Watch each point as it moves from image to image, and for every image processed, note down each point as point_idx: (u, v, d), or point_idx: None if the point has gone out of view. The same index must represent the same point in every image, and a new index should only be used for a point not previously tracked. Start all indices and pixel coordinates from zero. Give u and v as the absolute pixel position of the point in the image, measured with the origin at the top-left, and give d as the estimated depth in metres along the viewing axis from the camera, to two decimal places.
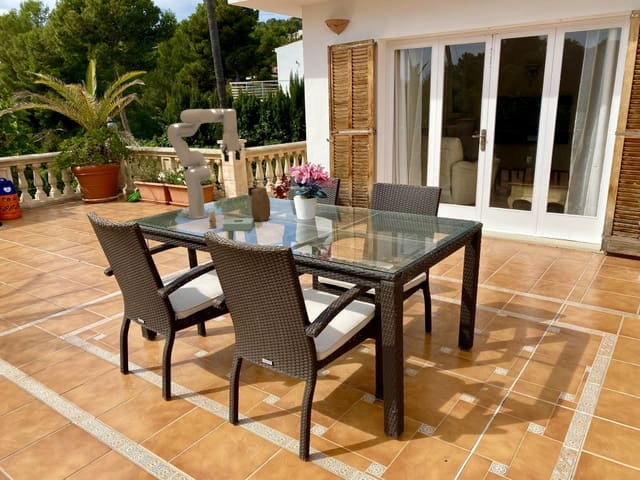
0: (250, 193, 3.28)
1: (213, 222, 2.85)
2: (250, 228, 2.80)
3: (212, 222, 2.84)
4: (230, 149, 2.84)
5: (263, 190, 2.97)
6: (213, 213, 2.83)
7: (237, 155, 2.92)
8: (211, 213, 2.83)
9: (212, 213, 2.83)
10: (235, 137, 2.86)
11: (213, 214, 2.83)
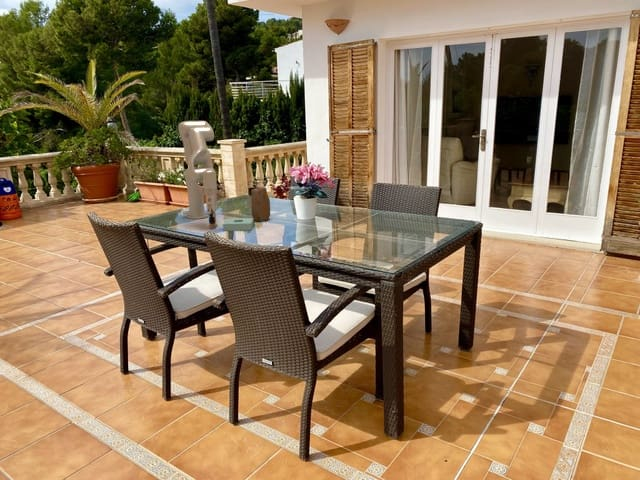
0: (250, 193, 3.28)
1: None
2: (250, 228, 2.80)
3: None
4: None
5: (263, 190, 2.97)
6: None
7: None
8: None
9: (212, 213, 2.83)
10: None
11: None
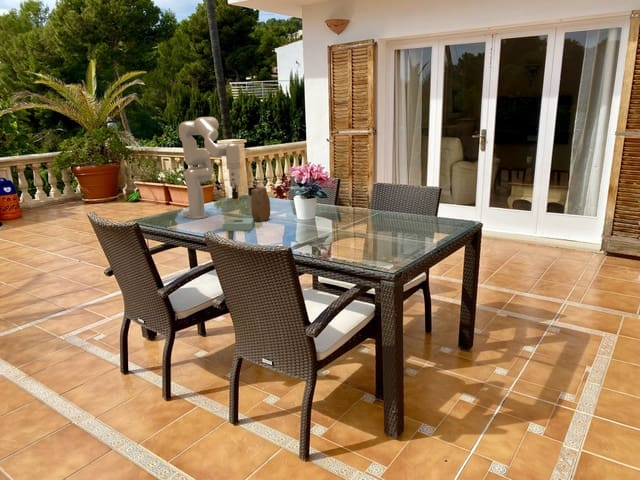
0: (250, 193, 3.28)
1: None
2: (250, 228, 2.80)
3: None
4: None
5: (263, 190, 2.97)
6: None
7: None
8: None
9: None
10: None
11: None
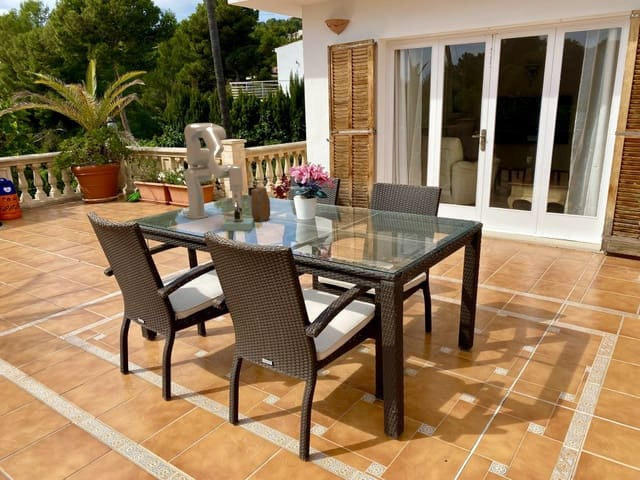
0: (250, 193, 3.28)
1: None
2: (250, 228, 2.80)
3: None
4: None
5: (263, 190, 2.97)
6: None
7: None
8: None
9: None
10: None
11: None
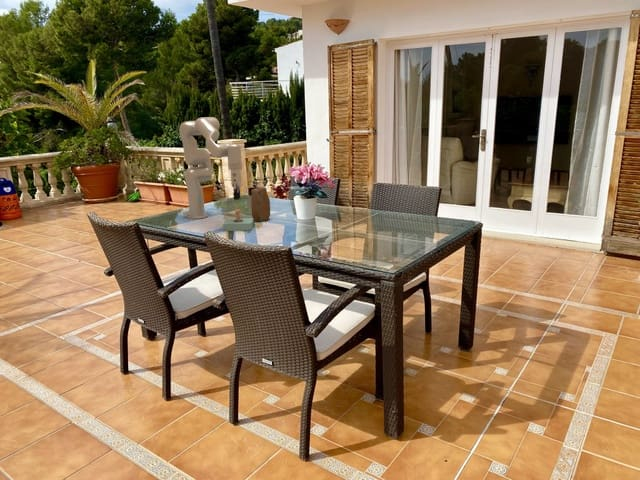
0: (250, 193, 3.28)
1: None
2: (250, 228, 2.80)
3: None
4: None
5: (263, 190, 2.97)
6: (239, 213, 2.83)
7: None
8: (237, 213, 2.83)
9: (238, 213, 2.83)
10: None
11: (239, 214, 2.83)
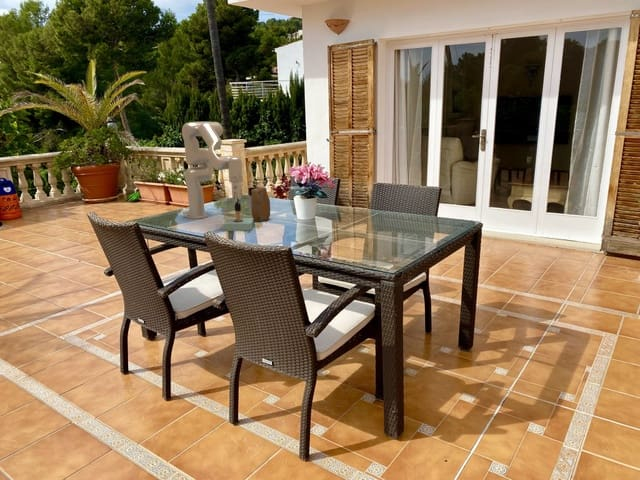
0: (250, 193, 3.28)
1: None
2: (250, 228, 2.80)
3: None
4: None
5: (263, 190, 2.97)
6: (239, 213, 2.83)
7: None
8: (237, 213, 2.83)
9: (238, 213, 2.83)
10: None
11: (239, 214, 2.83)
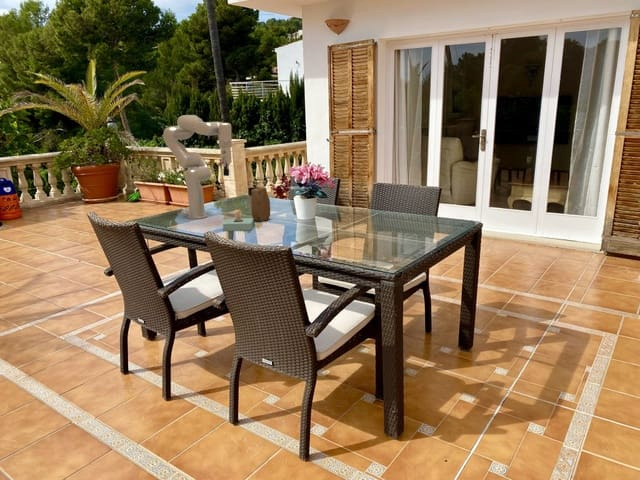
0: (250, 193, 3.28)
1: None
2: (250, 228, 2.80)
3: None
4: None
5: (263, 190, 2.97)
6: (239, 213, 2.83)
7: None
8: (237, 213, 2.83)
9: (238, 213, 2.83)
10: None
11: (239, 214, 2.83)
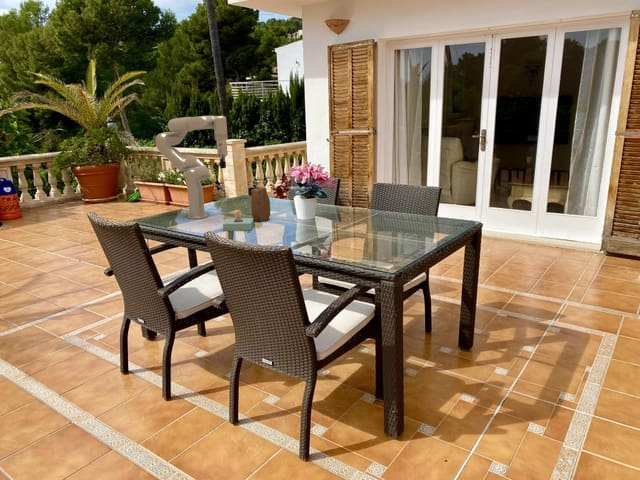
0: (250, 193, 3.28)
1: None
2: (250, 228, 2.80)
3: None
4: None
5: (263, 190, 2.97)
6: (239, 213, 2.83)
7: None
8: (237, 213, 2.83)
9: (238, 213, 2.83)
10: None
11: (239, 214, 2.83)
